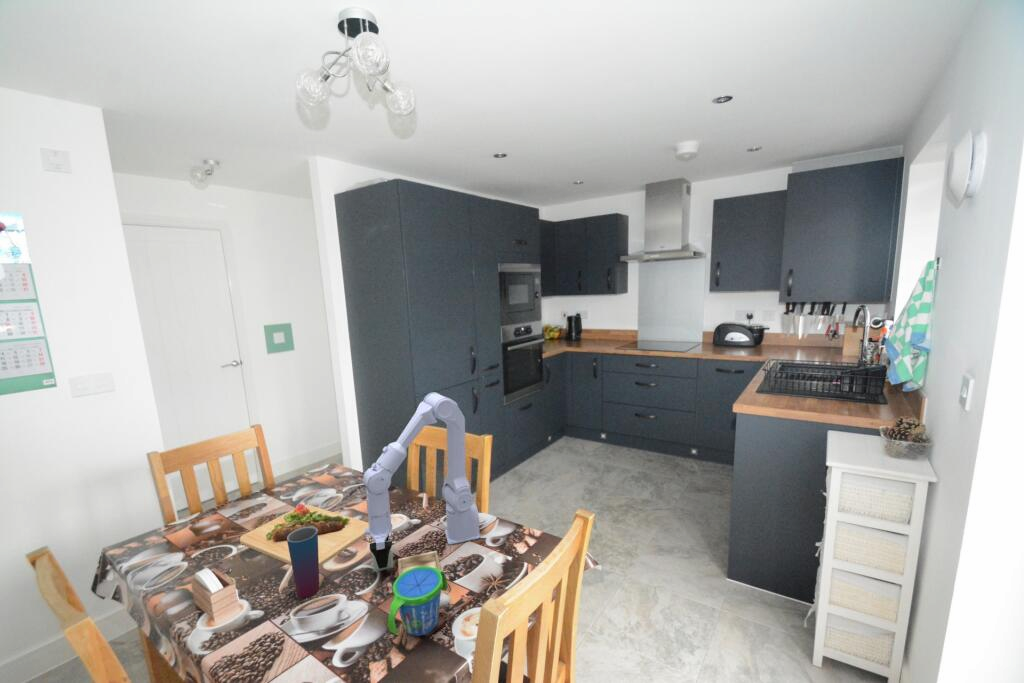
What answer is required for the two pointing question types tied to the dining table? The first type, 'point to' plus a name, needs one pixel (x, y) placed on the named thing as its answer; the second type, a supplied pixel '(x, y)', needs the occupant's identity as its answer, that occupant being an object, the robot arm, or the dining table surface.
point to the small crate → (390, 561)
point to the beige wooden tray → (418, 561)
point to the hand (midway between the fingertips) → (383, 559)
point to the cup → (304, 560)
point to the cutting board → (331, 526)
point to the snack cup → (417, 600)
